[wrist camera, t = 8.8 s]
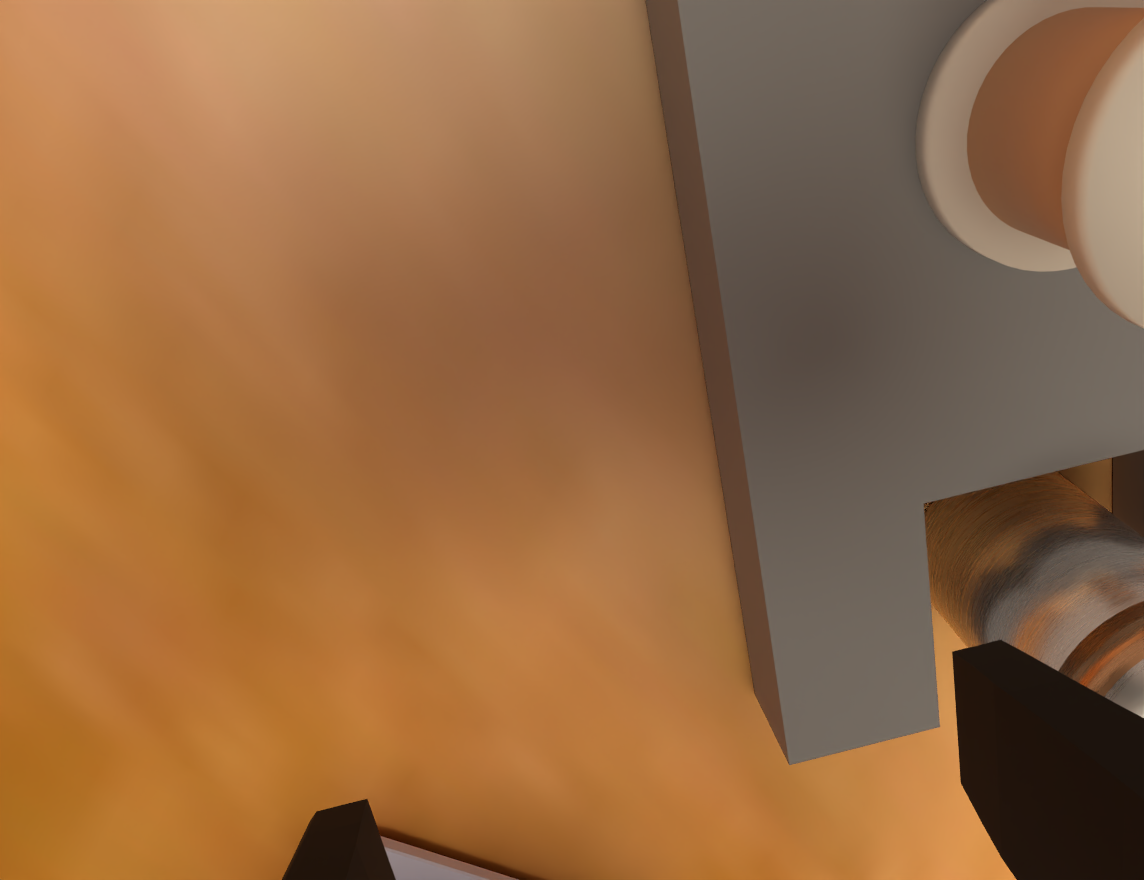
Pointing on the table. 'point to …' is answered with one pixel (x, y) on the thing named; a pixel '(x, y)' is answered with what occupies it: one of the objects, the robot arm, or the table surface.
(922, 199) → the notched board
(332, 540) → the table surface
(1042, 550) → the peg
